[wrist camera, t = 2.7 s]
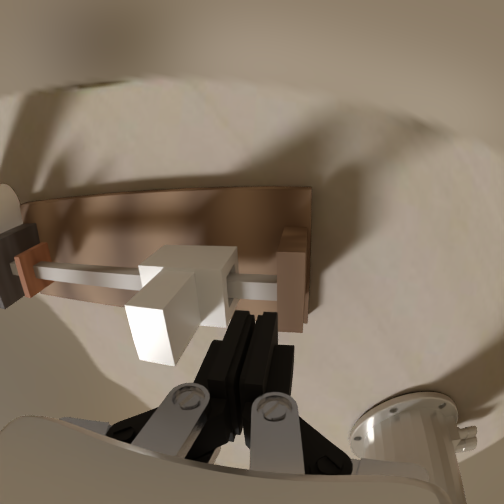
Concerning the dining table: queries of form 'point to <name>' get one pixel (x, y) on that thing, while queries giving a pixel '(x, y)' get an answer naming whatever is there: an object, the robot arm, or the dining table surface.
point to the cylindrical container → (9, 209)
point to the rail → (157, 235)
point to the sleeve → (180, 298)
